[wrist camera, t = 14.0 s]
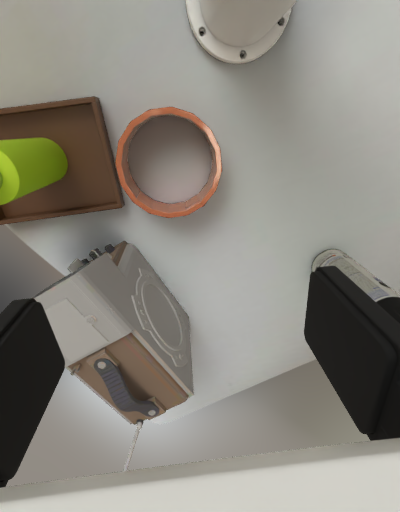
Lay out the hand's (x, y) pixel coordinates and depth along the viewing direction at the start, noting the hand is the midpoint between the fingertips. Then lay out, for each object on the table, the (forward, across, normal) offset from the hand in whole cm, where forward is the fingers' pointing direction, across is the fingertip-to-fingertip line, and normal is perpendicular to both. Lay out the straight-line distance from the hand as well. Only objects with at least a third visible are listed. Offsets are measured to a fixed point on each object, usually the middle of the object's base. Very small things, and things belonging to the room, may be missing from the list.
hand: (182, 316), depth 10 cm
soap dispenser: (+34, +18, -3) cm, 38 cm away
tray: (+34, +18, -3) cm, 39 cm away
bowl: (+34, +1, -1) cm, 34 cm away
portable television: (+34, +11, +19) cm, 41 cm away
